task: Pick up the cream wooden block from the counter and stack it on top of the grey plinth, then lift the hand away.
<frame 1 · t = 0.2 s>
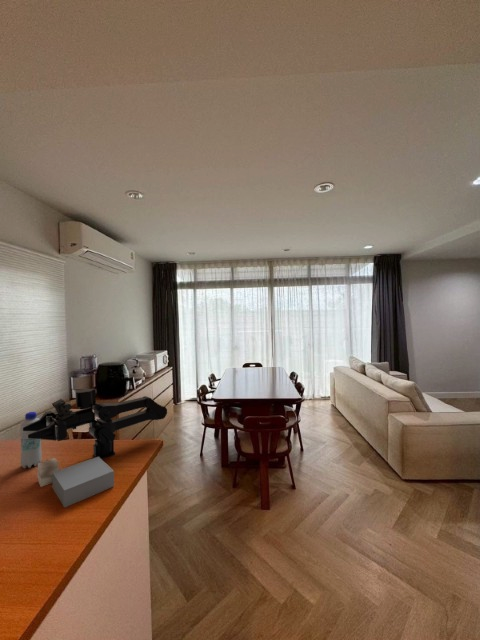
hand: (25, 432, 93), 17 cm above the table, tool horizontal, fingers open, 9 cm apart
plinth: (83, 487, 89), on the table
bottle: (31, 465, 103), on the table
cream block: (48, 480, 93), on the table
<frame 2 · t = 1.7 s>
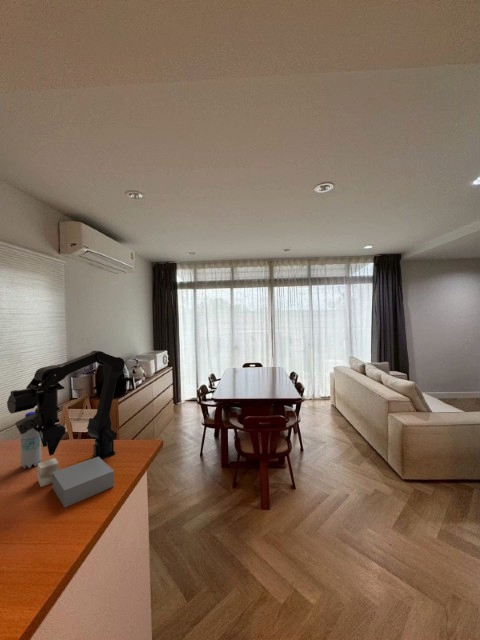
hand: (48, 450, 93), 10 cm above the table, tool pointing down, fingers open, 9 cm apart
nothing on the table moved.
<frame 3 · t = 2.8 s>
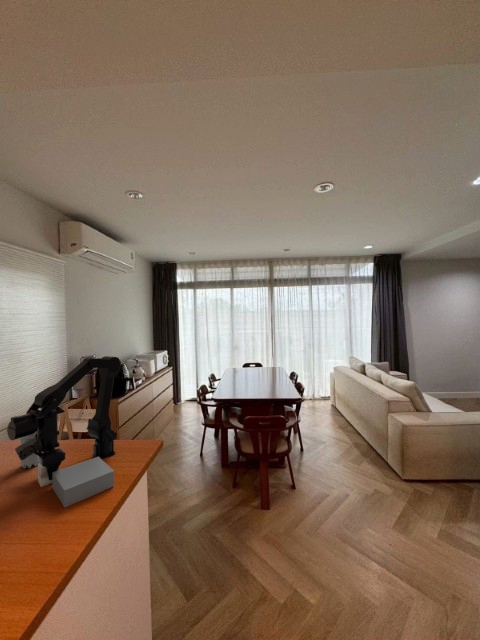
hand: (47, 475, 93), 2 cm above the table, tool pointing down, fingers open, 8 cm apart
nothing on the table moved.
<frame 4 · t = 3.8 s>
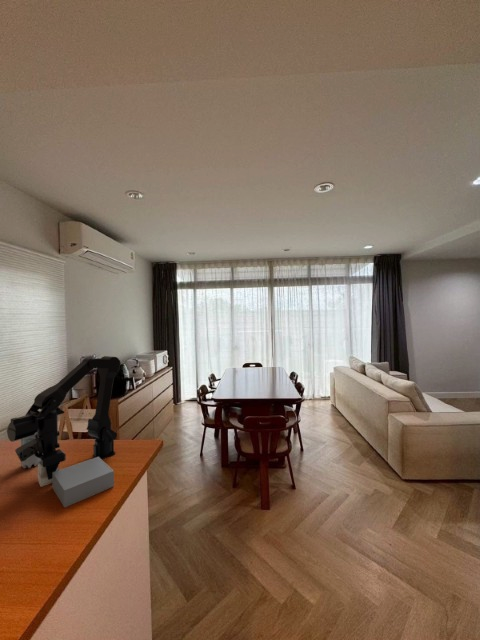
hand: (48, 476, 93), 2 cm above the table, tool pointing down, fingers closed on cream block, 5 cm apart
cream block: (48, 480, 93), on the table, touching gripper
everything else where it was.
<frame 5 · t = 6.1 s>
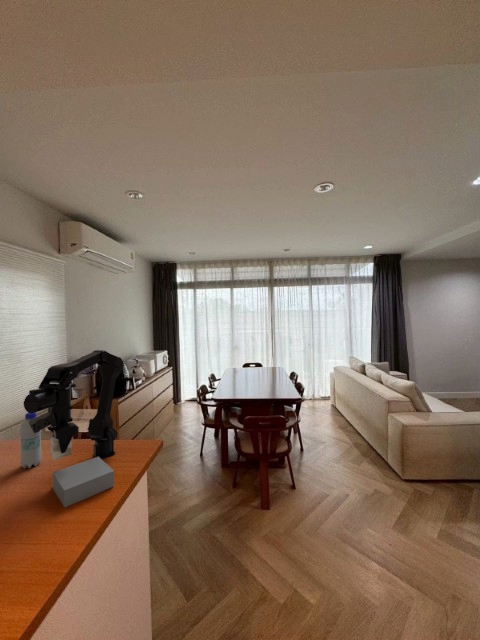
hand: (61, 450, 91), 11 cm above the table, tool pointing down, fingers closed on cream block, 5 cm apart
cream block: (61, 454, 91), point 9 cm above the table, touching gripper
everything else where it was.
when the fingers open (8 cm above the table, at t = 8.2 s): cream block drops 1 cm, resting on plinth.
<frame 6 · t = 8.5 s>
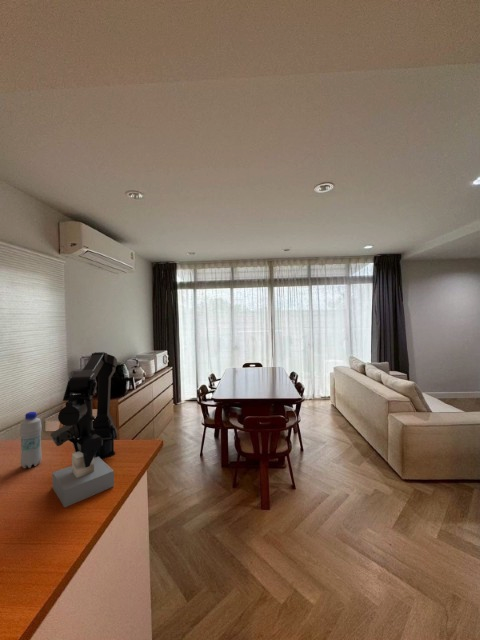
hand: (83, 462, 89), 8 cm above the table, tool pointing down, fingers open, 8 cm apart
cream block: (83, 471, 89), point 5 cm above the table, touching plinth
everything else where it was.
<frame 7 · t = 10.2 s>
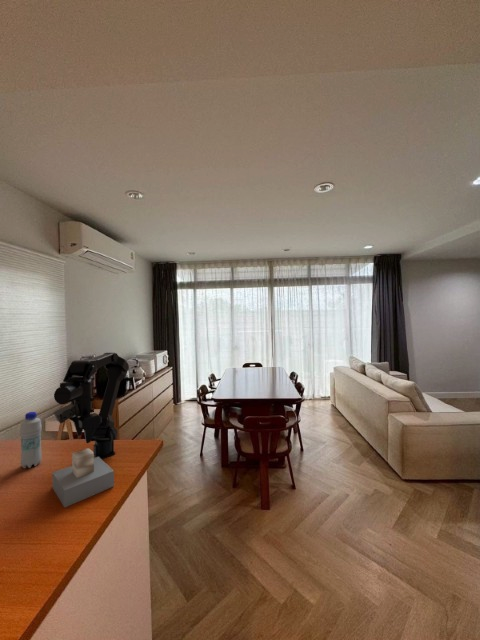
hand: (83, 439, 98), 12 cm above the table, tool pointing down, fingers open, 9 cm apart
nothing on the table moved.
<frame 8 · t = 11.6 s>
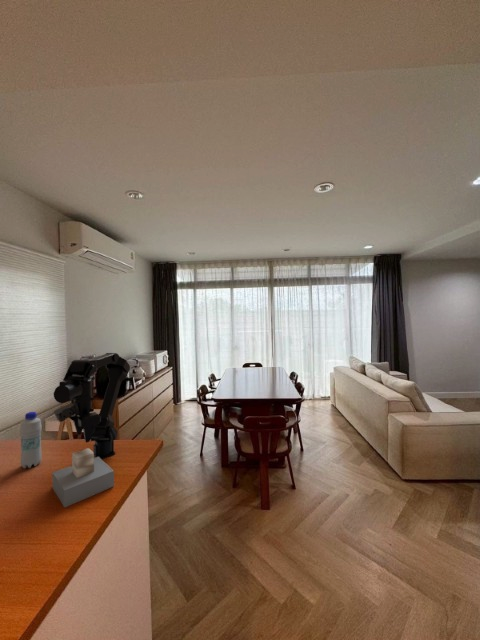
hand: (83, 438, 98), 12 cm above the table, tool pointing down, fingers open, 9 cm apart
nothing on the table moved.
at the end: cream block inside the target area on the plinth (0.0 cm from its centre), point 5.0 cm above the plinth's base; cream block tilted 0°; the gripper is holding nothing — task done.
